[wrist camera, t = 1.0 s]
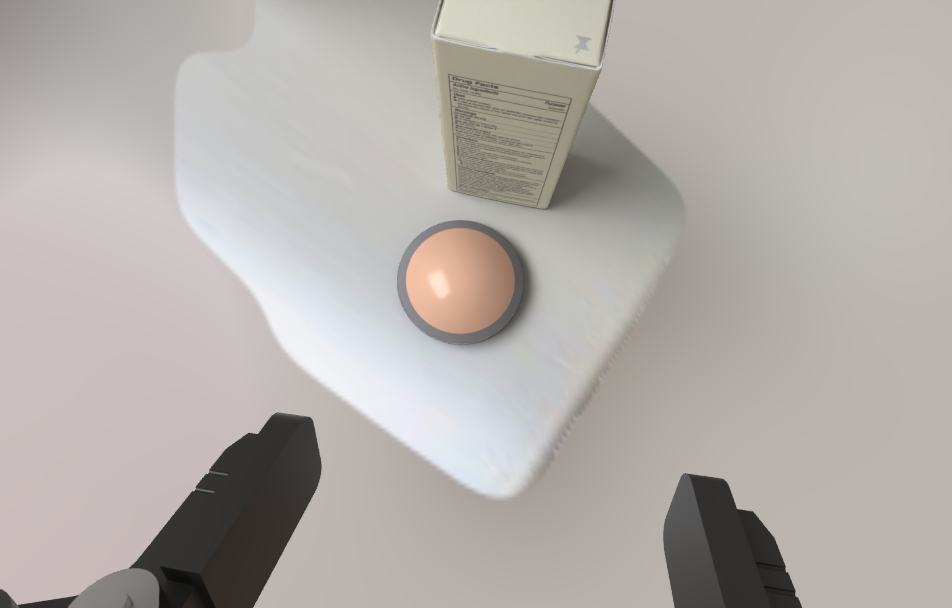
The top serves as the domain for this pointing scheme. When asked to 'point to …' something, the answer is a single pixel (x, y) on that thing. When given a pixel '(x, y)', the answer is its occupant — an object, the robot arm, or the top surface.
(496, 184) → the skincare box
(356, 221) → the top surface
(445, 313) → the tile
